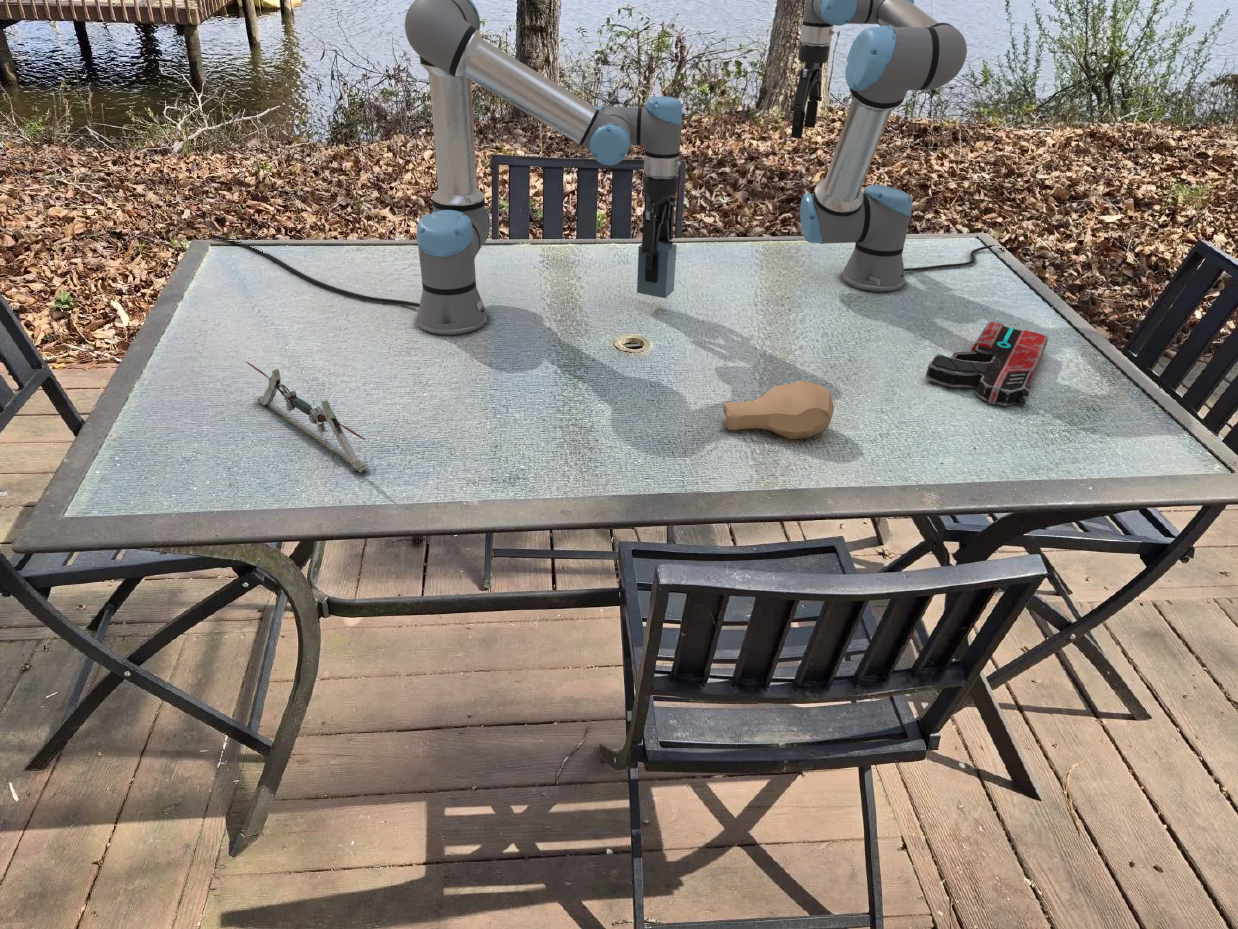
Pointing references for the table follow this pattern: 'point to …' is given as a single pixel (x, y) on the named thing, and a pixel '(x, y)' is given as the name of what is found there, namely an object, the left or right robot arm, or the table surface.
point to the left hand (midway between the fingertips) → (655, 276)
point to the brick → (664, 272)
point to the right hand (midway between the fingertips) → (802, 132)
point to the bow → (311, 415)
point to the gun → (993, 364)
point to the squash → (784, 411)
